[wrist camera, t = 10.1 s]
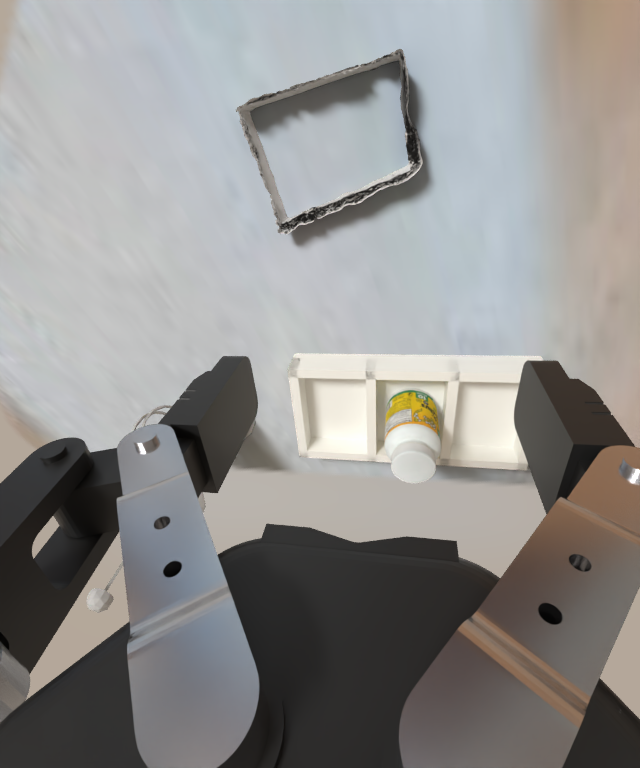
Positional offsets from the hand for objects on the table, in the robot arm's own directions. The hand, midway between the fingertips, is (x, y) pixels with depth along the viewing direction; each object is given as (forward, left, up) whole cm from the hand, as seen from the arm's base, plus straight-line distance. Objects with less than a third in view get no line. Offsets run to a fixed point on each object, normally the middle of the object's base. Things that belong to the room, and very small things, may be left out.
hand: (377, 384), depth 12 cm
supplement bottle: (-2, +20, -27) cm, 34 cm away
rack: (-2, +20, -28) cm, 35 cm away
